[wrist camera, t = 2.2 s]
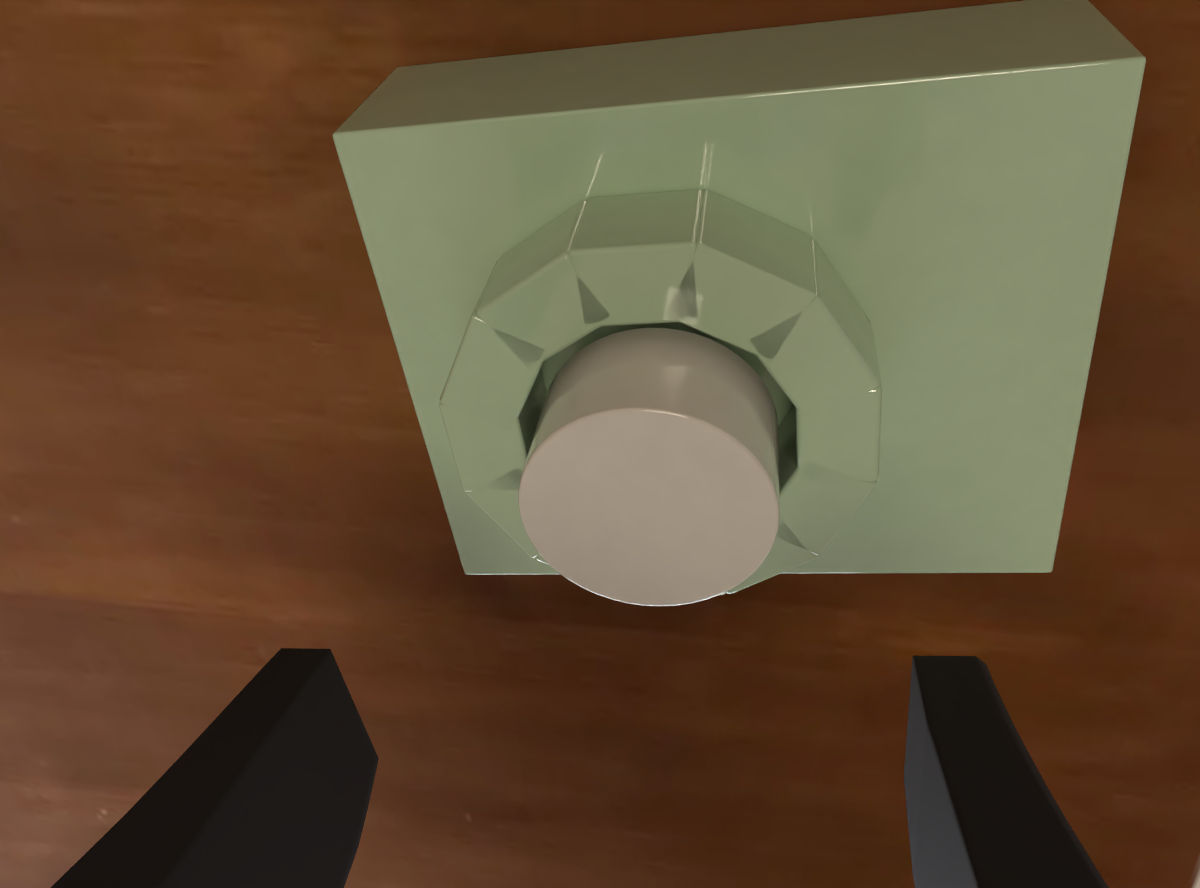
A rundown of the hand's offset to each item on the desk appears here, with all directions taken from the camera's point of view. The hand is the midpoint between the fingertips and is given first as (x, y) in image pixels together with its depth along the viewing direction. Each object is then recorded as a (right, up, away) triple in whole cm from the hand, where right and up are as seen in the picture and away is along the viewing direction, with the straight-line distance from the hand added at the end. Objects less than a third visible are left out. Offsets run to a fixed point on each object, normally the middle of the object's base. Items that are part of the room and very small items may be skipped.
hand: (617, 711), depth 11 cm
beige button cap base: (+2, +6, +8) cm, 10 cm away
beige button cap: (+1, +3, +4) cm, 5 cm away
